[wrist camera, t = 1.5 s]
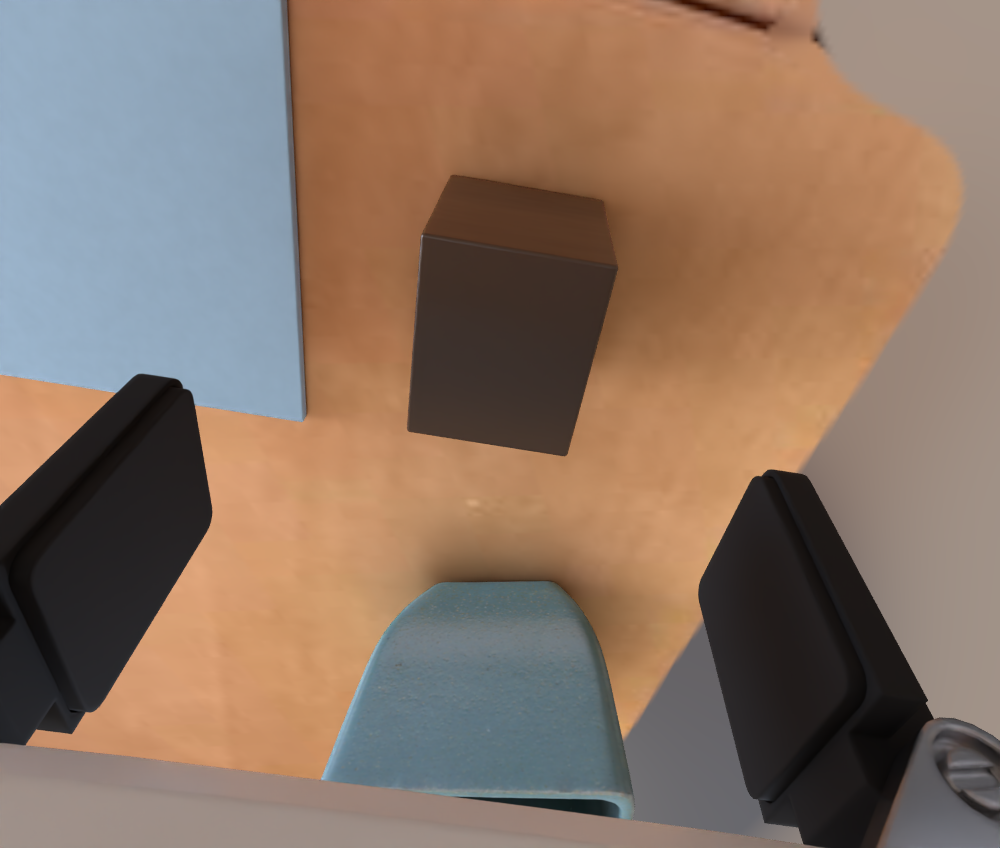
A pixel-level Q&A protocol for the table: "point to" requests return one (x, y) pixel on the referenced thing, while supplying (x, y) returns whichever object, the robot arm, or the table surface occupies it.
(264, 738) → the table surface
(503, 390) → the walnut block
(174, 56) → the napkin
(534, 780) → the flower pot
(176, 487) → the robot arm
